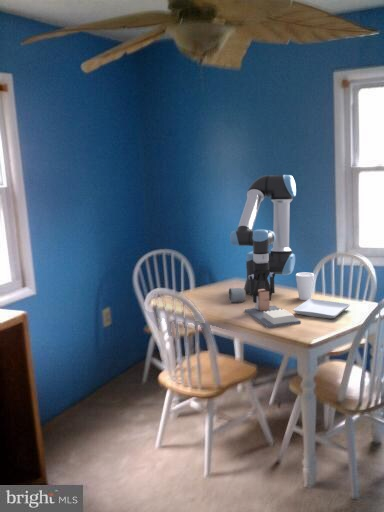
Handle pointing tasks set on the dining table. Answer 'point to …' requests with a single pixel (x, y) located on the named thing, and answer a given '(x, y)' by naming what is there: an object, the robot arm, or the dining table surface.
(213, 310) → the dining table surface
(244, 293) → the grey cylinder
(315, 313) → the salad plate
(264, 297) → the reddish brown block
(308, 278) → the foam cup
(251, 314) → the board
